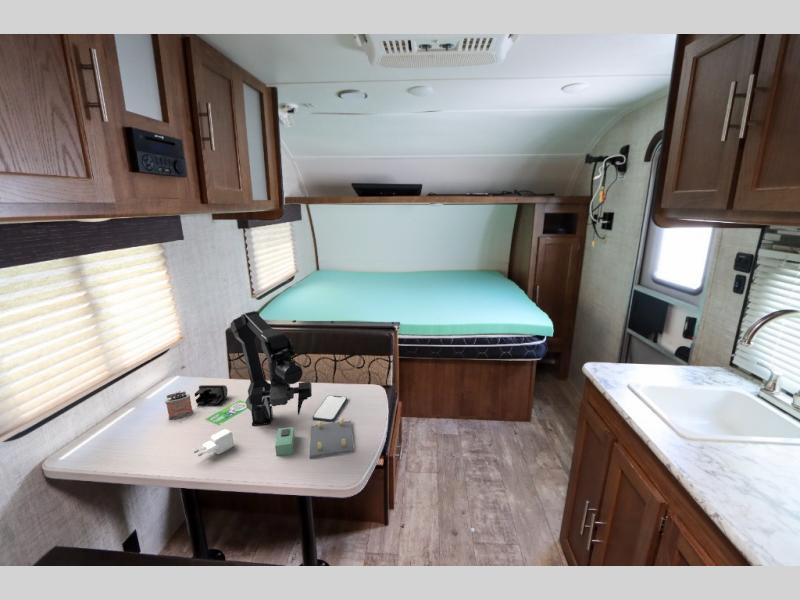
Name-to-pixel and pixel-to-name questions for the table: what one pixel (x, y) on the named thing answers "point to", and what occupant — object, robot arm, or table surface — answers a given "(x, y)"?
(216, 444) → the power adapter
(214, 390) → the end cap
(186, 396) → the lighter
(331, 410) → the smartphone
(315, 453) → the chassis
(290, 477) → the table surface
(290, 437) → the circuit board module
